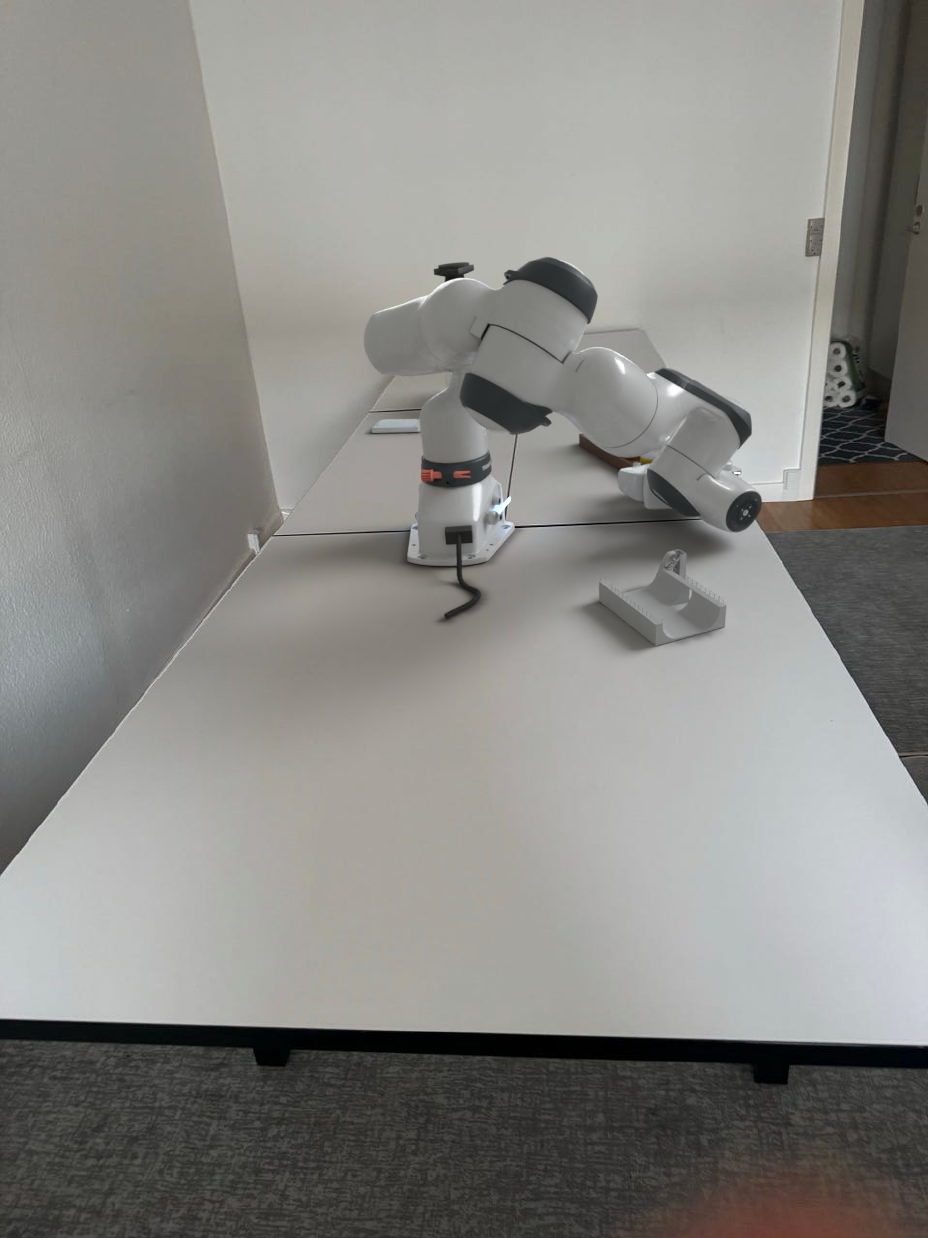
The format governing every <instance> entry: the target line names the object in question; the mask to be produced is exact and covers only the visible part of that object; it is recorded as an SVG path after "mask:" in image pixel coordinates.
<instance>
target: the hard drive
mask: <svg viewBox="0 0 928 1238" xmlns="http://www.w3.org/2000/svg"><path fill="white" fill-rule="evenodd" d="M371 432H372V434H392V433H393V434H395V433H396V434H397V433H421V430H420V421H419V418H395V419H394V418H392V419H389V418H388V419H386V418H385V419H380V420H378V421H377V423H376V424H374V425H372V427H371Z"/></svg>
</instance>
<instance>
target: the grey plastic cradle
mask: <svg viewBox="0 0 928 1238" xmlns="http://www.w3.org/2000/svg"><path fill="white" fill-rule="evenodd" d="M687 555H688V554H687V553H686V552H685V551H684V550H682V549H680V548H679V549H674V550H670V551H667V552H666V553H665V554H664V556H663V558H662V560H661V563H660V565H659V568H658V570H657V572H656V575H655V577H654V579H652V582H650V583H649V584H647V586H644V587H641V588H638V589H633V590H629V591H626V592H622V591H621V590H619V589H618V588H617V587H615V586H614V585H612V584H611V583H610V582H608V581H607V580H606V579H605V576H604V577H602V578H601V580H599V581H598V601H599V602H600V603H601V604H602V605H604V606H605V607H606V608H608V609H609V610H610V611H611V612H612V613H614V614H615V615H616V616H617V617H618V618H620V619H621V620H622V621H624V622H625V623H626V624H627V625H628V626H630V628H632V629H633V630H635V631H636V632H637V633H639V634H640V635H641V636H643V637H644V638H645V639H646V640H647V641H649V642H650V643H651V645H653V646H655V647H657V646H661V645H665V644H668V643H673V642H676V641H679V640H682V639H687V638H691V637H693V636H698V635H701V634H705V633H708V632H711V631H712V632H713V631H715V630H718V629H722V628H725V627H726V617H727V604H725V599H724V598H723V597H721V596H719V595H718V594H716V593H714V592H713V591H711V590H710V589H708V587H705V586H704V585H702V584H701V583H699V582H698V581H695V580H694V579H692V578H691V577H689V576H688V575H687V558H688V557H687ZM671 557H672V558H671ZM670 558H671V560H670V561H669V559H670ZM668 561H669V563H668ZM698 584H699V586H700V587H698V586H697V585H698ZM690 590H691V591H690ZM690 592H691V595H690ZM712 593H713V594H712ZM721 601H722V602H721Z"/></svg>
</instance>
